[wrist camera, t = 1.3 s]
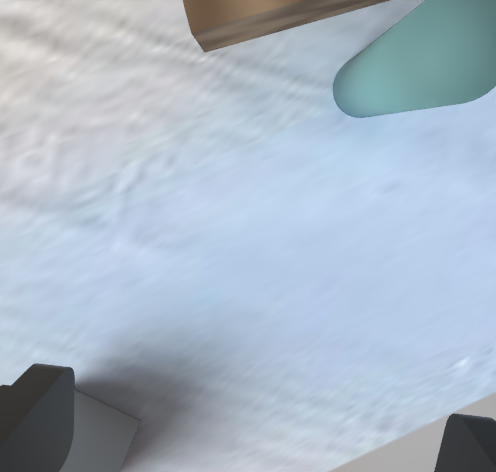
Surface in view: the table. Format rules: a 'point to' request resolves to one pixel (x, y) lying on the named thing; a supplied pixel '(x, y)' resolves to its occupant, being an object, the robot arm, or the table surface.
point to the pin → (423, 61)
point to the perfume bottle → (99, 436)
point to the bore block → (257, 17)
